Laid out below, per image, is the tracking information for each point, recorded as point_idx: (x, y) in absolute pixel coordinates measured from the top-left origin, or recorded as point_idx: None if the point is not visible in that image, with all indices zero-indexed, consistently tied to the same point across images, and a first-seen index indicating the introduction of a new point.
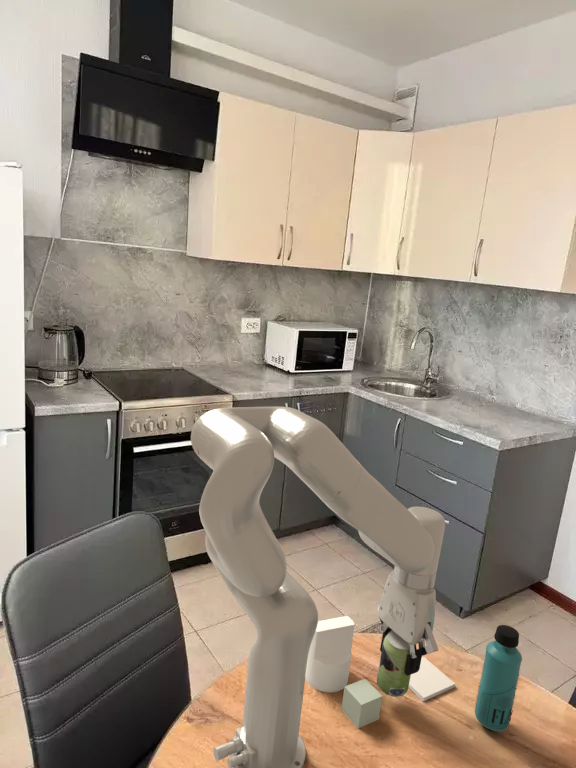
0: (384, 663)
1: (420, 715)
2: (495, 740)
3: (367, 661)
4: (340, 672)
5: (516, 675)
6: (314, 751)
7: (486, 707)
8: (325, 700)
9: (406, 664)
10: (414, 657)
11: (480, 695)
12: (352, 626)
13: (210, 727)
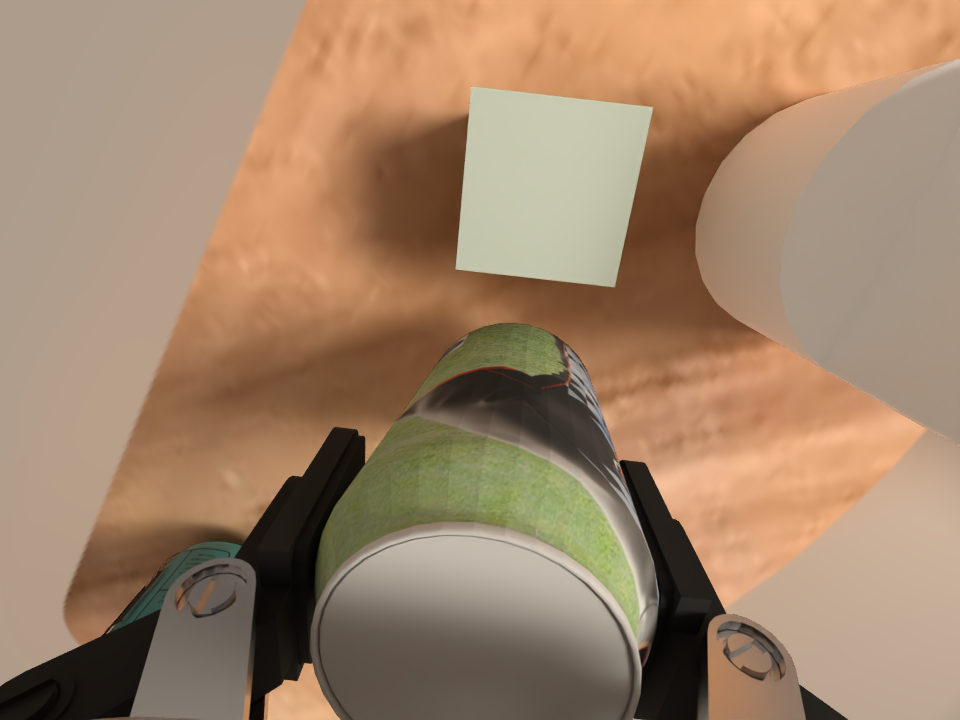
0: (517, 380)
1: (389, 410)
2: (188, 528)
3: (724, 456)
4: (759, 207)
5: None
6: None
7: (159, 606)
8: (705, 92)
9: (321, 477)
10: (187, 574)
11: None
12: None
13: None
